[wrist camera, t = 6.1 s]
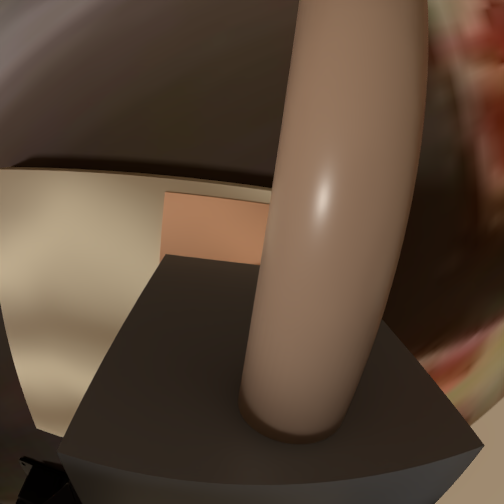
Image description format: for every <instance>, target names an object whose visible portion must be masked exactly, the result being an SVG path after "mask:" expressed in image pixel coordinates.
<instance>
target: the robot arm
mask: <svg viewBox="0 0 504 504" xmlns="http://www.w3.org/2000/svg"><path fill="white" fill-rule="evenodd" d="M19 463H20V464H21V466H22V468H23V469H24V471H25V473H26V474H27V478H26V480H25V482H24V484H23V486H22V489H21V491H20V493H19V495H18V499H17V501H16V504H82V502H81V500H80V498H79V497H78V495H77V493H76V491H75V489H74V487H73V485H72V483H71V481H70V479H69V477H68V475H67V474H64V473H61V472H58V471H55V470H53V469H50V468H47V467H44V466H42V465H39V464H37V463H34V462H32V461H29V460H27V459H25V458H20V460H19Z"/></svg>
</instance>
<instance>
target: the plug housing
mask: <svg viewBox="0 0 504 504" xmlns="http://www.w3.org/2000/svg"><path fill="white" fill-rule="evenodd" d="M427 71H428V6H427V0H300V1H299V8H298V15H297V22H296V30H295V37H294V44H293V51H292V58H291V65H290V72H289V79H288V85H287V92H286V99H285V106H284V113H283V119H282V126H281V133H280V140H279V146H278V153H277V159H276V166H275V173H274V179H273V186H272V192H271V199H270V205H269V212H268V218H267V224H266V231H265V237H264V243H263V250H262V256H261V262H260V265H254V264H246V263H237V262H228V261H220V260H212V259H203V258H195V257H187V256H178V255H170V254H165V256H164V257H163V259H162V261H161V262H160V264H159V265H158V267H157V269H156V270H155V272H154V273H153V275H152V277H151V278H150V280H149V281H148V283H147V285H146V286H145V288H144V290H143V291H142V293H141V295H140V296H139V298H138V300H137V301H136V303H135V305H134V306H133V308H132V310H131V311H130V313H129V315H128V316H127V318H126V320H125V322H124V323H123V325H122V327H121V329H120V330H119V332H118V334H117V336H116V337H115V339H114V341H113V343H112V344H111V346H110V348H109V350H108V352H107V353H106V355H105V357H104V359H103V361H102V362H101V364H100V366H99V368H98V370H97V372H96V374H95V375H94V377H93V379H92V381H91V383H90V385H89V387H88V389H87V391H86V393H85V394H84V396H83V398H82V400H81V402H80V404H79V406H78V408H77V410H76V412H75V414H74V416H73V418H72V420H71V422H70V424H69V426H68V428H67V431H66V433H65V435H64V437H63V439H62V441H61V443H60V445H59V447H58V450H57V454H58V456H59V458H60V460H61V462H62V465H63V467H64V469H65V471H66V473H67V475H68V477H69V479H70V481H71V483H72V485H73V487H74V489H75V491H76V493H77V495H78V497H79V498H80V500H81V502H82V504H435V503H436V502H437V501H438V500H439V498H441V497H442V495H443V494H444V493H445V492H446V491H447V490H448V489H449V488H450V487H451V486H452V485H453V484H454V482H455V481H456V480H457V479H458V478H459V477H460V476H461V474H462V473H463V472H464V471H465V470H466V468H467V467H468V466H469V465H470V463H471V462H472V461H473V460H474V458H475V457H476V456H477V455H478V453H479V452H480V450H481V449H482V448H483V447H484V444H483V443H482V442H481V440H480V439H479V438H478V436H477V435H476V434H475V432H474V431H473V430H472V428H471V427H470V426H469V424H468V423H467V422H466V421H465V419H464V418H463V417H462V415H461V414H460V413H459V412H458V410H457V409H456V408H455V406H454V405H453V404H452V403H451V401H450V400H449V399H448V398H447V396H446V395H445V394H444V393H443V391H442V390H441V389H440V388H439V386H438V385H437V384H436V383H435V381H434V380H433V379H432V378H431V377H430V375H429V374H428V373H427V372H426V370H425V369H424V368H423V367H422V366H421V364H420V363H419V362H418V361H417V360H416V358H415V357H414V356H413V355H412V354H411V352H410V351H409V350H408V349H407V348H406V346H405V345H404V344H403V343H402V342H401V341H400V339H399V338H398V337H397V336H396V335H395V334H394V332H393V331H392V330H391V329H390V328H389V327H388V325H387V324H386V323H385V322H384V321H383V320H382V316H383V313H384V310H385V307H386V304H387V300H388V297H389V294H390V290H391V287H392V283H393V280H394V276H395V272H396V269H397V265H398V261H399V257H400V253H401V249H402V245H403V241H404V236H405V232H406V227H407V223H408V218H409V213H410V208H411V203H412V198H413V193H414V187H415V181H416V176H417V169H418V163H419V156H420V149H421V141H422V133H423V124H424V114H425V103H426V89H427Z"/></svg>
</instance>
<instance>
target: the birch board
mask: <svg viewBox="0 0 504 504" xmlns="http://www.w3.org/2000/svg"><path fill="white" fill-rule="evenodd" d="M271 192H272V188H267V187H260V186H253V185H246V184H238V183H230V182H222V181H214V180H205V179H196V178H187V177H177V176H167V175H156V174H145V173H133V172H119V171H104V170H87V169H67V168H37V167H7V168H0V303H1V308H2V314H3V319H4V324H5V328H6V333H7V337H8V341H9V345H10V349H11V353H12V357H13V361H14V364H15V368H16V371H17V374H18V378H19V381H20V384H21V387H22V390H23V393H24V396H25V399H26V402H27V404H28V407H29V410H30V413H31V415H32V418H33V420H34V423H35V425H36V428H37V429H40V430H43V431H46V432H49V433H52V434H55V435H58V436H61V437H64V435H65V433H66V431H67V428H68V426H69V424H70V422H71V420H72V418H73V416H74V414H75V412H76V410H77V408H78V406H79V404H80V402H81V400H82V398H83V396H84V394H85V393H86V391H87V389H88V387H89V385H90V383H91V381H92V379H93V377H94V375H95V374H96V372H97V370H98V368H99V366H100V364H101V362H102V361H103V359H104V357H105V355H106V353H107V352H108V350H109V348H110V346H111V344H112V343H113V341H114V339H115V337H116V336H117V334H118V332H119V330H120V329H121V327H122V325H123V323H124V322H125V320H126V318H127V316H128V315H129V313H130V311H131V310H132V308H133V306H134V305H135V303H136V301H137V300H138V298H139V296H140V295H141V293H142V291H143V290H144V288H145V286H146V285H147V283H148V281H149V280H150V278H151V277H152V275H153V273H154V272H155V270H156V269H157V267H158V265H159V264H160V262H161V261H162V259H163V257H164V256H165V254H170V255H178V256H187V257H195V258H203V259H212V260H220V261H228V262H237V263H246V264H254V265H260V262H261V256H262V250H263V243H264V237H265V231H266V224H267V218H268V212H269V205H270V199H271Z"/></svg>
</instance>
